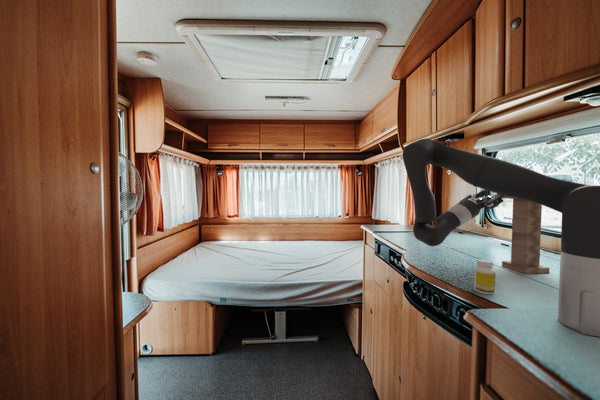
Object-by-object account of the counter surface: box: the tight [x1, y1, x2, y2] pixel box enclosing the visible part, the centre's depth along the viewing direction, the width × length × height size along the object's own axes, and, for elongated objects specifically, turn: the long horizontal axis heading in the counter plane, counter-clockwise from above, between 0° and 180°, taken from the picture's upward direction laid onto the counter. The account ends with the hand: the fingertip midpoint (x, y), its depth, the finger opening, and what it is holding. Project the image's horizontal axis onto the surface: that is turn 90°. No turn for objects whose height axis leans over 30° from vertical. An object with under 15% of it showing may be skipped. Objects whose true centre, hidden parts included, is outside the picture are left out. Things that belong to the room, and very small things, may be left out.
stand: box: [501, 196, 550, 275], centre depth 98 cm, size 12×12×31 cm
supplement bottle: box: [473, 258, 496, 295], centre depth 76 cm, size 5×5×10 cm
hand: (494, 191), depth 95 cm, fingers open, 8 cm apart
